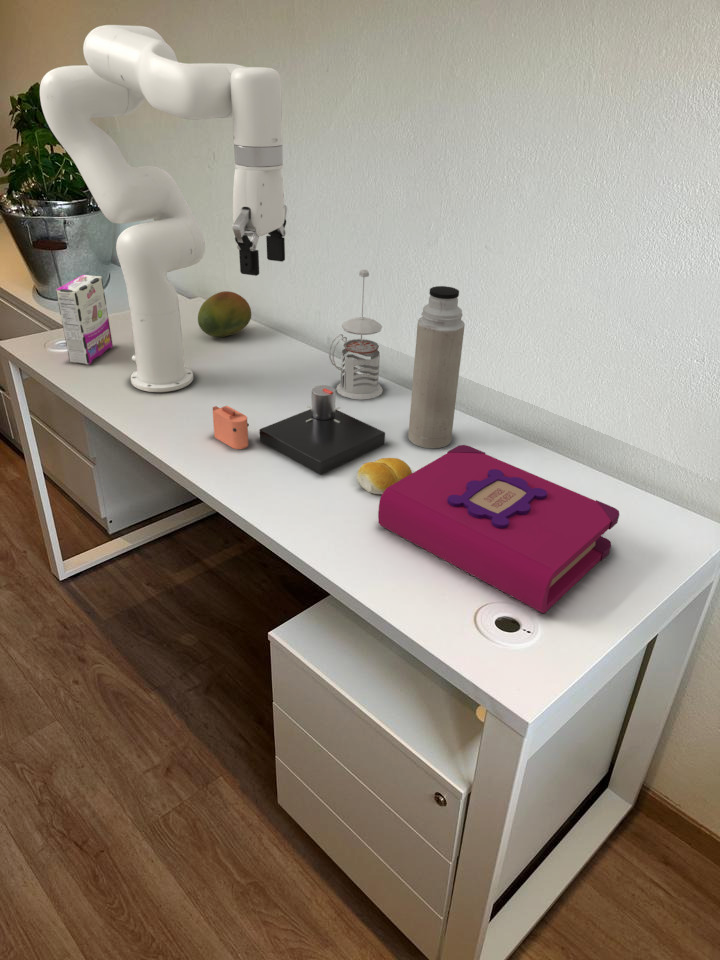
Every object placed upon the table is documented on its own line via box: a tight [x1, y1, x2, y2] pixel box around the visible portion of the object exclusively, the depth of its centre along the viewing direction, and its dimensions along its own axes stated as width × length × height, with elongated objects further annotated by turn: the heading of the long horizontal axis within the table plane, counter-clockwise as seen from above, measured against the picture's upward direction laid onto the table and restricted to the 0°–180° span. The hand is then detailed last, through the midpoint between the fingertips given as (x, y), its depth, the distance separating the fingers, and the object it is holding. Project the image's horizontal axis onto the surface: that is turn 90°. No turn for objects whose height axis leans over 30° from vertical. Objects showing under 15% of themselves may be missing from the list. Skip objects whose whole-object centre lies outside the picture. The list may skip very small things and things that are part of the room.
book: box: [377, 444, 620, 614], centre depth 108 cm, size 21×28×8 cm
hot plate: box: [258, 406, 386, 476], centre depth 133 cm, size 17×17×3 cm
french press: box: [328, 269, 384, 401], centre depth 147 cm, size 10×12×25 cm
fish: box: [212, 405, 250, 450], centre depth 132 cm, size 8×3×6 cm, turn 46°
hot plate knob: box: [311, 384, 337, 420], centre depth 136 cm, size 4×4×5 cm
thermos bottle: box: [407, 285, 466, 449], centre depth 130 cm, size 8×8×28 cm
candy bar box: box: [55, 274, 114, 365], centre depth 160 cm, size 11×5×16 cm, turn 168°
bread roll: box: [356, 457, 413, 495], centre depth 122 cm, size 8×9×4 cm
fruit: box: [197, 290, 252, 338], centre depth 175 cm, size 12×13×10 cm
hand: (263, 267), depth 124 cm, fingers open, 9 cm apart
